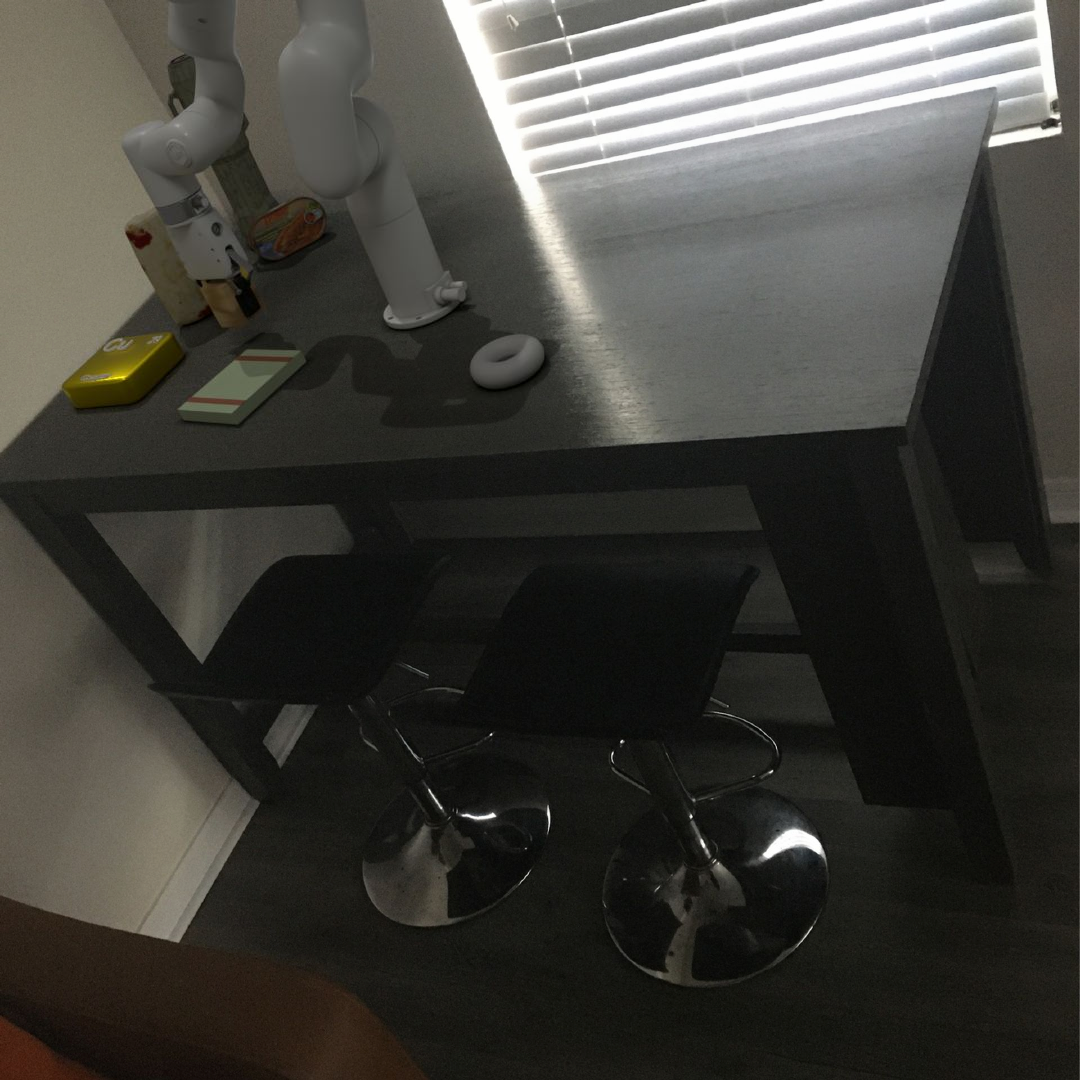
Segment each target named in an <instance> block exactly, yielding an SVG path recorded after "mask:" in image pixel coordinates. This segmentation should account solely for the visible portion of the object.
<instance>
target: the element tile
mask: <svg viewBox="0 0 1080 1080" xmlns="http://www.w3.org/2000/svg"><path fill="white" fill-rule="evenodd" d="M184 356H185V352H184V350H183V348H182V346H181V345H180V343H179V342H178V340H177V338H176V336H175V334H174V333H173V332H172V331H165V332H157V333H156V332H155V333H149V334H141V335H140V334H139V335H135V336H134V335H132V336H125V337H119V338H118V337H117V338H113V339H110V340H109V341H108V342H106V343H105V344H104V345H103V346H102V347H101V348H100V349H99V350H97V351H96V352H95V353H94V354H93V355H92V356H91V357H90V358H89V359H88V360H86V361H85V363H83V364H82V365H81V366H80V367H79V368H77V370H76V371H74V372H73V373H72V374H71V375H70V376H69V377H68V378H67V379H66V380H65V381H63V383H62V384H61V389H62V391H63V392H64V394H65V395H66V396H67V398H68V400H69V401H70V402H71V404H72V405H73V406H74V408H76V409H90V408H91V409H93V408H101V407H115V406H125V405H132V404H135V403H137V402H139V401H141V400H142V399H144V398H145V397H146V396H147V395H148V394H149V393H150V392H151V391H152V390H153V389H154V388H155V387H156V386H157V385H158V383H160V382H161V381H162V380H163V379H164V378H165V377H166V376H167V375H168V374H169V373H170V372H171V371H172V370H173V369H174V368H175V367H176V366H177V365H178V364H179V363H180V362H181V361H182V360H183V359H184Z"/></svg>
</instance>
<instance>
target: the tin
mask: <svg viewBox="0 0 1080 1080" xmlns="http://www.w3.org/2000/svg"><path fill="white" fill-rule="evenodd" d="M327 224H328V216H327V213H326V210H325V208H324V207H323V205H322V204H321V203H320V202H319V201H318V200H316V199H315V198H313V197H310V196H303V195H299V196H294V197H292V198H290V199H288V200H286V201H284V202H282V203H280V204H279V206H277V207H275V208H273V209H271V210H269V211H267V212H265V213H263V214H261V215H259V216H258V217H256V218H255V219H254V220H253V222H252V223H251V225H250V228H249V241H250V244H251V246H252V247H253V248H252V249H253V250H254V251H255V252H256V253H257V254H258V255H259V256H260V257H262V258H263V259H266V260H268V261H269V260H270V261H279V260H282V259H284V258H286V257H288V256H290V255H291V254H293V253H295V252H297V251H299V250H302V249H303V248H305V247H306V246H309V245H310V244H313V243H314V242H316V241H318V240H319V239H320V238H321V237H322V236H323V234H324V233H325V231H326V228H327Z"/></svg>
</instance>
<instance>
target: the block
mask: <svg viewBox="0 0 1080 1080" xmlns="http://www.w3.org/2000/svg"><path fill="white" fill-rule="evenodd" d="M231 270H232V272H234V270H233V268H232V269H231ZM233 279H234V280H235V281H236V283H238V276H237V275H236V276H235V277H234V278H233ZM251 284H252V285H251V286H250V287H251V289H252V291H253V293H254V295H255V296H256V298H257V300H258V302H259V304H260V306H261V308H260V309H259V310H258V311H257V312H256V313H254V314H253V315H252V316H251V317H245V315H244V313H243V311H242V309H241V307H240V306H239V304H238V302H237V300H236V298H235V295H236V293H235V292H234V290H233V289H232V288H231V286H230V285H229V284H228V282H227V281H226V280H225V279H213V280H211V281H209V282H208V283H207V284H206V285H204V286H203V287H202V288H200V290H201V292H202V293H203V295H204V297H205V299H206V301H207V302H208V304H209V306H210V308H211V310H212V311H213V312H212V313H213V315H214V317H215V319H216V320H217V322H218V324H219V326H220V327H221V328H243V327H244V326H246V325H247V324H248V323H249V322H250V321H252V319H254V318H255V317H256V316H257V315H259V314H260V313H261V312H262V311H263V310H265V308H267V306H266V304H265V302H264V300H263V298H262V297H261V294H260V293H259V291H258V289H257V287H256V285H255V283H254V282H253V280H252V278H251Z"/></svg>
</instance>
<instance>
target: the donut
mask: <svg viewBox="0 0 1080 1080" xmlns="http://www.w3.org/2000/svg"><path fill="white" fill-rule="evenodd" d="M544 361H545V348H544V345H543V344H542V343H541V342H540V340H539V339H538V338H536V337H534V336H531V335H529V334H525V333H524V334H523V333H516V334H508V335H505V336H501V337H499V338H498V337H497V338H496V339H494V340H492V341H490V342H488V343H486V344H485V345H484V346H482V347H481V348H480V349H478V350H477V351H476V352H475V354H474V355H473V357H472V359H471V361H470V364H469V373H470V376H471V378H472V379H473V381H474V382H475V383H476V384H477V385H478V386H480V387H483V388H485V389H492V390H501V389H507V388H510V387H514V386H516V385H519V384H521V383H523V382H525V381H526V380H529V379H530V378H532V377H533V376H534V375H535V374H536V373H537V372H538V371H539V370H540V368H541V367H542V365H543V364H544Z"/></svg>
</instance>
